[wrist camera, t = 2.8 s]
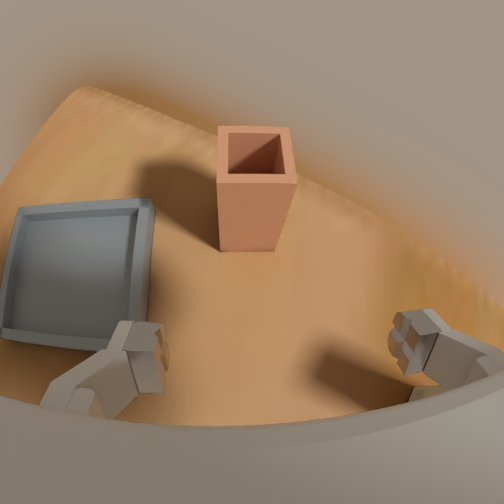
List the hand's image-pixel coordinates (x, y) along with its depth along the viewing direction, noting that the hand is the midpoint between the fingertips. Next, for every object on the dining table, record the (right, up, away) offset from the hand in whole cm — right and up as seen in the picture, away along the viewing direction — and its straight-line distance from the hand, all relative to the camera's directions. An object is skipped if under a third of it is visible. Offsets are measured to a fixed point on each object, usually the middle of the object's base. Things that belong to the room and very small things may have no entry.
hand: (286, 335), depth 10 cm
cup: (-2, +5, +20) cm, 21 cm away
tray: (-18, 0, +16) cm, 25 cm away
